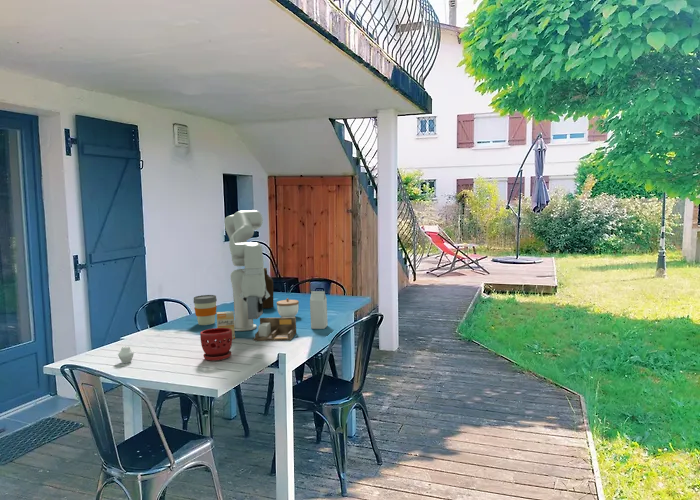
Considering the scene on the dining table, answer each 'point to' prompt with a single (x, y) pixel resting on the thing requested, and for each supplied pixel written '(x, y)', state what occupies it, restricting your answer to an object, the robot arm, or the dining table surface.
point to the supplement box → (226, 321)
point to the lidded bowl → (287, 307)
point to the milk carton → (318, 310)
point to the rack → (276, 329)
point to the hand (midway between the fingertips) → (255, 311)
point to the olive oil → (269, 287)
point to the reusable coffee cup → (205, 309)
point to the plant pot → (216, 343)
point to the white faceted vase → (126, 354)
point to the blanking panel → (253, 307)
